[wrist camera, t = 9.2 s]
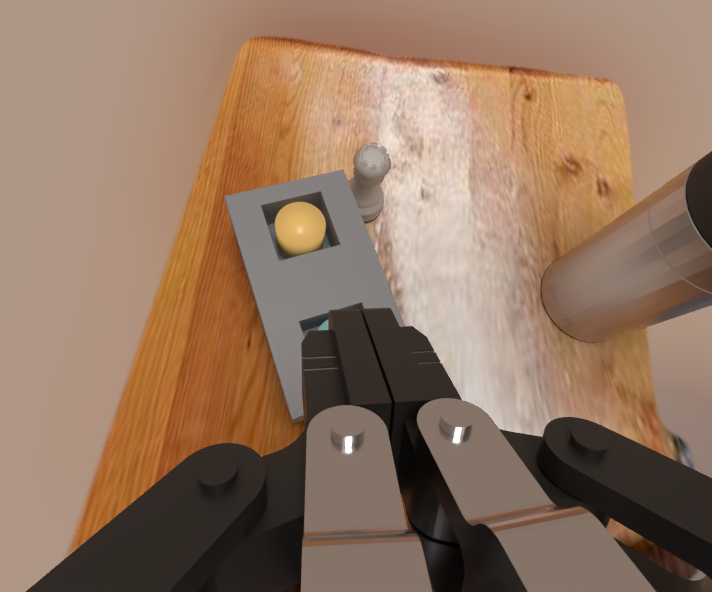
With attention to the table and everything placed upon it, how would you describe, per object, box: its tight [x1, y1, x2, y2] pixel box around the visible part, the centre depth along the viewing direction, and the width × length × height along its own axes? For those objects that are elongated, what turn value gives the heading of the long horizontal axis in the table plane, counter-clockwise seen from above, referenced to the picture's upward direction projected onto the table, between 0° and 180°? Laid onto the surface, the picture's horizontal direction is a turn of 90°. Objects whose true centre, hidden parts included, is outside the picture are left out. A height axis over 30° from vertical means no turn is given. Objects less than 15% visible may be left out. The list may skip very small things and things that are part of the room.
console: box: [224, 170, 405, 424], centre depth 37 cm, size 10×18×7 cm, turn 20°
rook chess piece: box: [348, 143, 391, 222], centre depth 41 cm, size 4×4×8 cm
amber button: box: [275, 202, 326, 259], centre depth 36 cm, size 4×4×4 cm
